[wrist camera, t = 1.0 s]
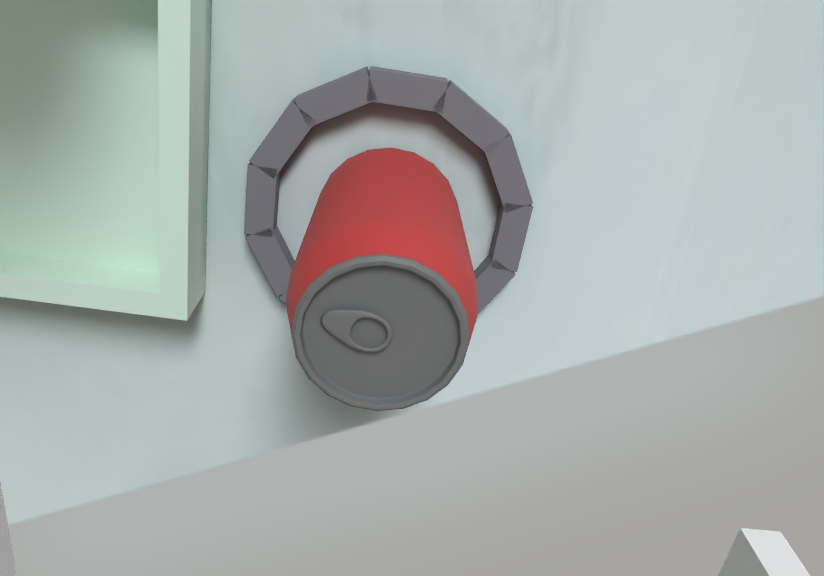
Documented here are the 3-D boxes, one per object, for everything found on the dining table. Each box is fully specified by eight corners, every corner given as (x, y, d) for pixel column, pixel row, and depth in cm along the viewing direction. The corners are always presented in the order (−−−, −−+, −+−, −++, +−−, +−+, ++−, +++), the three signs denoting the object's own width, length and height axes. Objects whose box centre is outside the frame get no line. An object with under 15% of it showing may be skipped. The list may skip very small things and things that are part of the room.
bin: (-110, 250, 32) (-157, 276, 29) (-180, -105, 25) (-250, -115, 23) (204, 292, 33) (187, 320, 30) (212, -38, 27) (190, -39, 24)
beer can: (345, 122, 29) (312, 208, 19) (479, 174, 31) (522, 284, 20) (301, 249, 32) (249, 390, 21) (426, 293, 33) (437, 448, 22)
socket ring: (244, 314, 33) (239, 324, 33) (258, 48, 28) (253, 50, 27) (493, 347, 34) (495, 357, 34) (554, 95, 29) (559, 99, 28)
